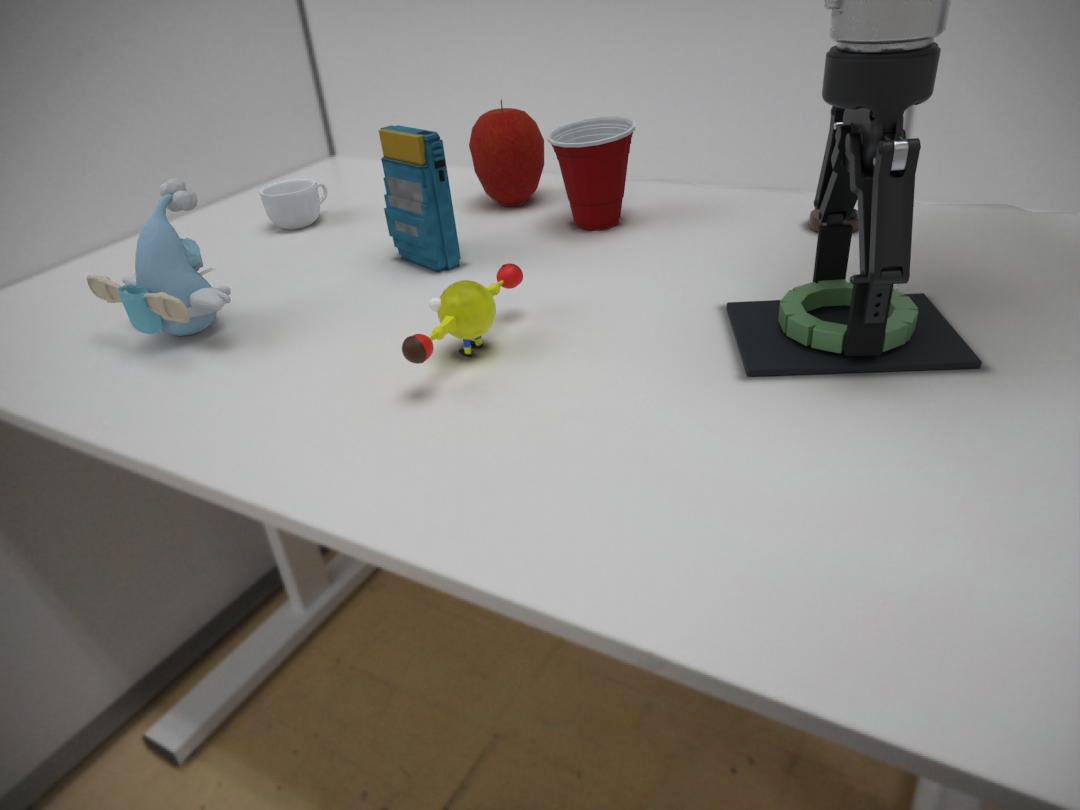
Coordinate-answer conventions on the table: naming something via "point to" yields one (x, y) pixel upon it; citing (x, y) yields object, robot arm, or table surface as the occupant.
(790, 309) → the ring
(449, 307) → the toy figure
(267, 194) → the teacup
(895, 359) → the mat
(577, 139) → the plastic cup
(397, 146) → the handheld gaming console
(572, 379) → the table surface
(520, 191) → the apple
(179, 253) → the toy figure
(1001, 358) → the table surface
